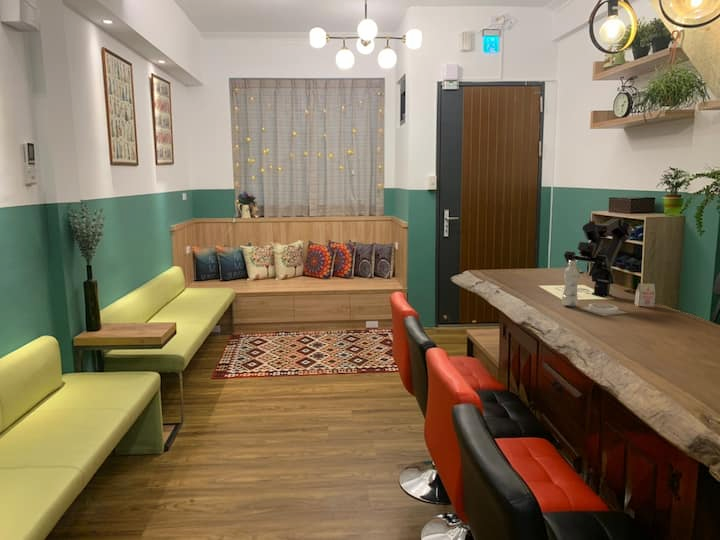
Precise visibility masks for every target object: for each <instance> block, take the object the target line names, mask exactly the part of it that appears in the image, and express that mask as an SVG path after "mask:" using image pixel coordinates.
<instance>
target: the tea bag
mask: <svg viewBox="0 0 720 540" xmlns="http://www.w3.org/2000/svg"><path fill="white" fill-rule="evenodd" d="M637 285H638V286H637V288H636V290H635V296H634V304H635V305H634V306H636V305H637V306H643V307H642V308H655V299H656V289H655V288H656V286H655V283H638V284H637ZM637 306H636V307H637Z"/></svg>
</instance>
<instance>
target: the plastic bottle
mask: <svg viewBox="0 0 720 540" xmlns="http://www.w3.org/2000/svg"><path fill="white" fill-rule="evenodd" d="M580 275H581V272H580V269H579V267H578V260H569V262H568V266H567V267H566V268H565V270H564V273H563V276H564V288H563V295H562V296H561V303H562V305H563V306H565V307H576V306H577V304H578V298H579V297H578V285H579V280H580V279H579V278H580Z"/></svg>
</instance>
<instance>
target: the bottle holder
mask: <svg viewBox="0 0 720 540" xmlns="http://www.w3.org/2000/svg"><path fill="white" fill-rule="evenodd" d="M579 309H580V310H583V311H586V312H590V313H592V314H596V315H599V316H603V317H605V316H614V315H624V313H625V314H628V313H627V311H623V310H619V306H617V305H614V304H610V303H605V302H591V303H589V304H588V306H585V307H579Z"/></svg>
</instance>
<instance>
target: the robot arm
mask: <svg viewBox="0 0 720 540" xmlns="http://www.w3.org/2000/svg"><path fill="white" fill-rule="evenodd" d="M582 231H583V233H584V236H585V239H586V240H587V242H585V241H584V242H583V241H579V242H578V245H577V248H576V249H577V250H579V252H578V253H579V254H580V255H578V254H576V252H575V251H569V250H568V251H567V250H566V251H565V252H564V254H563V257H564V259H565V261H566V263H568V262H569V260H577V261H582V262H586V263H593V265H592V267H591V269H590V271H589V272H588V277H591V282H594V287H593V292H591V295H595V296H597V297H603V298H604V297H611V296H612V295H613V294H610V292H611V291H610V290H611V285H614V284H615V276H614V272H613V268H612V266H613V264H614V261H615V259H616V257H617V256H618V253H619V250H620V248H621V246H622V244H623V243H625V242H627V241H628V240H629V238H630V237H631V236H632V233H633V230H632V227H631V225H630V224H629V223H628V222H626V221H625V219H624V218H621V217H612V218H610V219H608V220H607V221H605V222H603V223H596V221H594V220H593V221H592V220H590V221H589V222H588V223H585V224H584V225H583V226H582ZM610 235H611V237H612V239H611V240H610V242H609V245H608V247H607V248H606V251H605V253H604V255H602V254H599V250H600V247H603V239H604V238H605V239H607V238H608V237H609V236H610Z"/></svg>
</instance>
